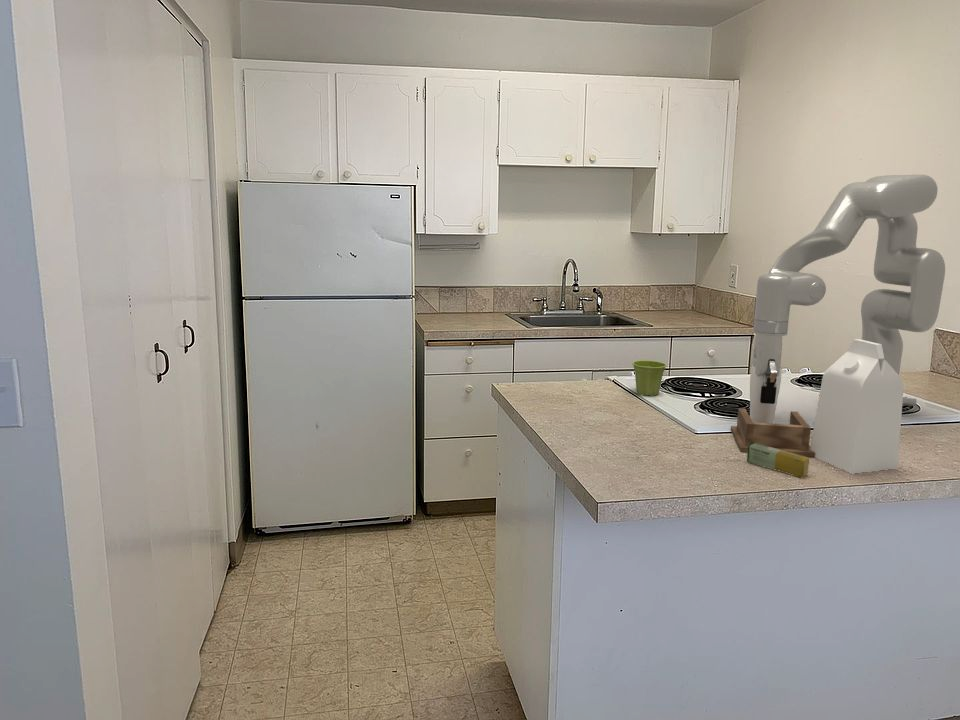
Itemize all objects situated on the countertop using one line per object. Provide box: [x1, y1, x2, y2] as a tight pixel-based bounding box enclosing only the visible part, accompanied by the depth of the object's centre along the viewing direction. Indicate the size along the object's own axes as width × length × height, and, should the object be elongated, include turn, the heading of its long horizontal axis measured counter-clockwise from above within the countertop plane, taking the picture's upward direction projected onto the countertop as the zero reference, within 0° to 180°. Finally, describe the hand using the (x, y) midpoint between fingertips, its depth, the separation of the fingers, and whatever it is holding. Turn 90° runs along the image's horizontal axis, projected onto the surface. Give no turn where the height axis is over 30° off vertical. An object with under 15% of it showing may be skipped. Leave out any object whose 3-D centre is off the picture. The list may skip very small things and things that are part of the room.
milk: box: [810, 338, 905, 475], centre depth 149 cm, size 12×12×26 cm
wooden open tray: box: [730, 407, 815, 458], centre depth 162 cm, size 15×16×6 cm
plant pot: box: [631, 359, 667, 397], centre depth 203 cm, size 9×9×9 cm
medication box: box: [746, 442, 810, 478], centre depth 147 cm, size 12×3×4 cm, turn 42°
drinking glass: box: [749, 365, 783, 424], centre depth 173 cm, size 7×7×15 cm
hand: (763, 397), depth 173 cm, fingers open, 9 cm apart
